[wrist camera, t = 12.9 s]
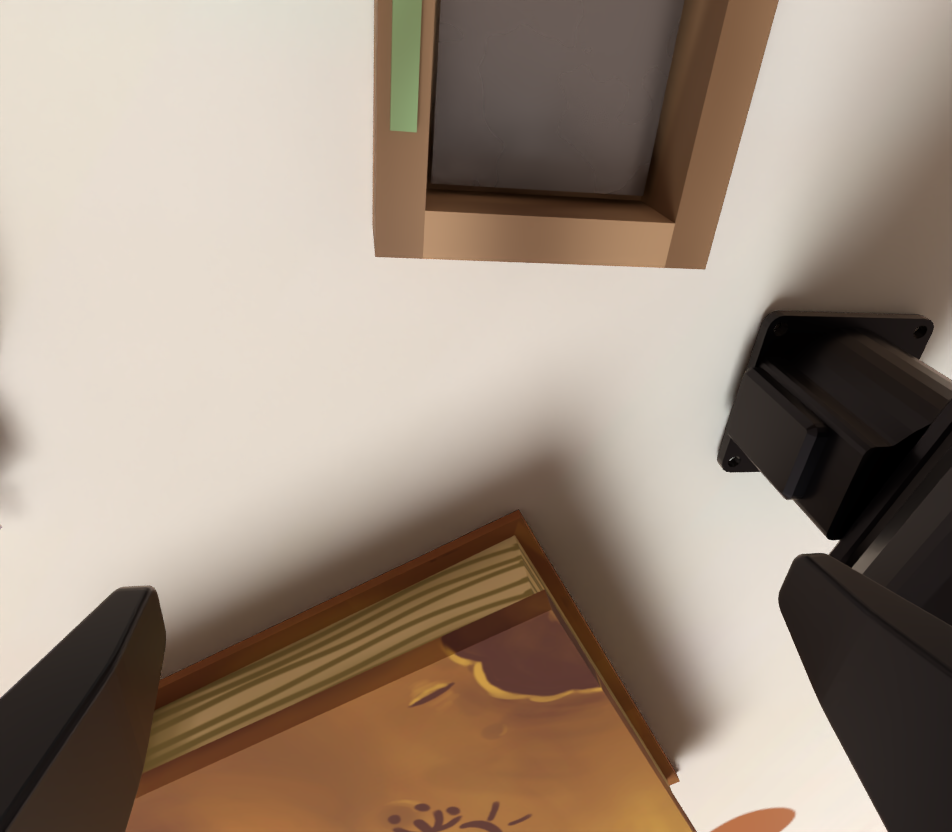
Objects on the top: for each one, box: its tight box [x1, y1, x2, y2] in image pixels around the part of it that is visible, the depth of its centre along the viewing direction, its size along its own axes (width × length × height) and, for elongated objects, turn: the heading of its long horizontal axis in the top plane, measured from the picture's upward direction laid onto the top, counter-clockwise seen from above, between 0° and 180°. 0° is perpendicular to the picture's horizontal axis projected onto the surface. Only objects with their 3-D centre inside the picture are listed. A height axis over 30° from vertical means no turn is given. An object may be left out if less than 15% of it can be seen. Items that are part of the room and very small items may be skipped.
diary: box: [125, 510, 697, 832], centre depth 31 cm, size 23×19×6 cm
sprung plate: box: [428, 0, 685, 196], centre depth 17 cm, size 6×6×1 cm
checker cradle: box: [373, 0, 779, 269], centre depth 16 cm, size 9×9×3 cm
